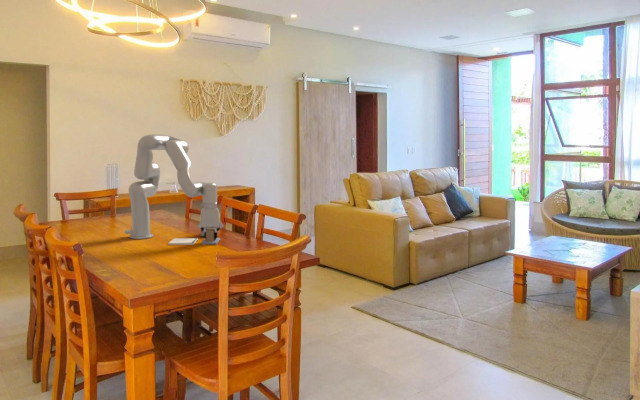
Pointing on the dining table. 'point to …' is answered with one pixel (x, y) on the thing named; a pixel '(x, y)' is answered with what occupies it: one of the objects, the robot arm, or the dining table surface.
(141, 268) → the dining table surface
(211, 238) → the stub
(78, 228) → the dining table surface
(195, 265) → the dining table surface
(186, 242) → the board
